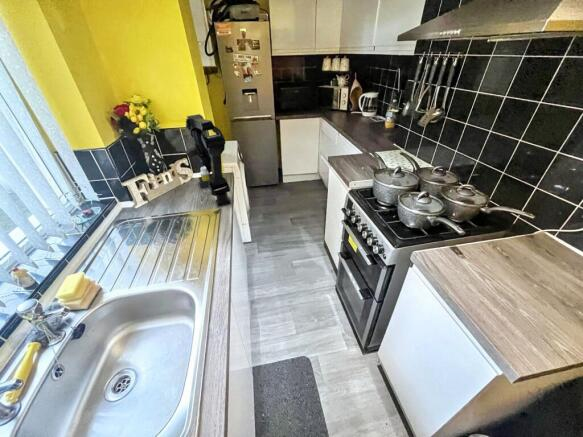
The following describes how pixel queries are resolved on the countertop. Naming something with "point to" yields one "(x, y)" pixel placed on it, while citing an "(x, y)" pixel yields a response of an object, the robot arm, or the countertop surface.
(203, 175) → the supplement bottle
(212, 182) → the robot arm
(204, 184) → the pad socket
